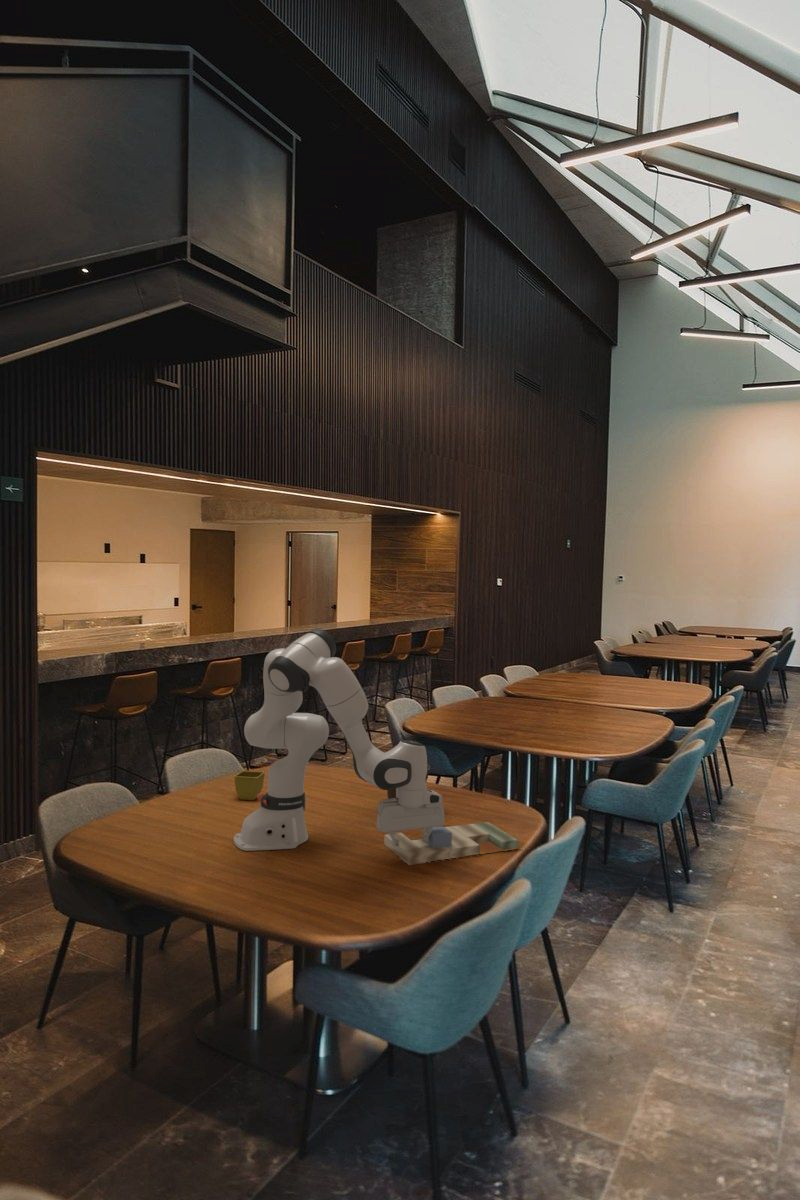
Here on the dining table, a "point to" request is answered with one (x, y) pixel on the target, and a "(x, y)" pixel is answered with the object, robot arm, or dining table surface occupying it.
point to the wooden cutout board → (462, 843)
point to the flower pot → (249, 784)
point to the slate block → (440, 837)
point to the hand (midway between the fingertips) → (410, 843)
